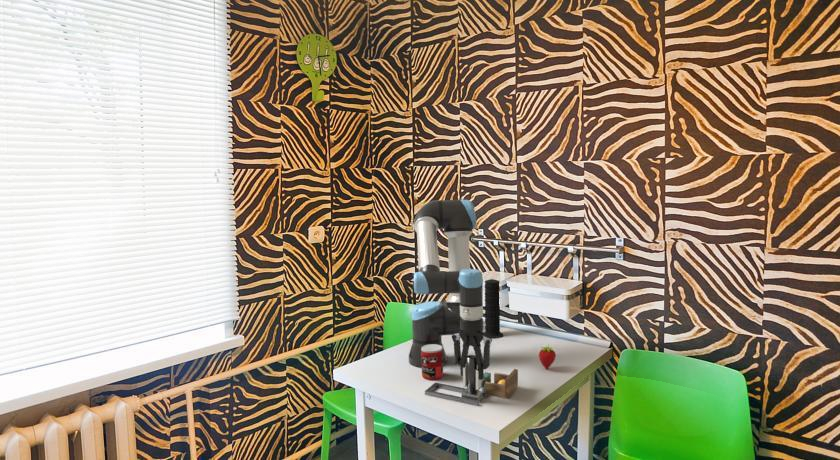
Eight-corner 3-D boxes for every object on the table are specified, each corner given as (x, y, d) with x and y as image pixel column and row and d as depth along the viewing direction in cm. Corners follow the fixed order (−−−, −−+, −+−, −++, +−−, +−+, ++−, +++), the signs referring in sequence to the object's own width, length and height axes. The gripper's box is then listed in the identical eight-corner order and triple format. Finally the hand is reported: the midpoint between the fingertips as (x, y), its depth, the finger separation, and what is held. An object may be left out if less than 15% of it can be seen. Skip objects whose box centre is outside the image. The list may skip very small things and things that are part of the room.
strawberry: (558, 367, 186) (558, 342, 185) (550, 374, 180) (550, 347, 179) (544, 364, 190) (544, 339, 189) (535, 370, 184) (535, 344, 183)
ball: (503, 396, 164) (493, 388, 166) (507, 391, 168) (497, 384, 169) (509, 386, 163) (498, 379, 165) (512, 382, 167) (502, 375, 168)
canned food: (417, 376, 180) (416, 347, 179) (432, 370, 186) (432, 342, 185) (432, 382, 175) (431, 352, 174) (447, 375, 181) (446, 347, 180)
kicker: (461, 398, 161) (460, 357, 159) (477, 382, 173) (477, 344, 172) (478, 402, 158) (478, 360, 156) (493, 385, 170) (493, 346, 169)
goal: (485, 394, 164) (484, 375, 164) (495, 383, 173) (495, 365, 172) (508, 399, 160) (508, 380, 160) (517, 387, 169) (517, 369, 168)
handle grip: (480, 338, 223) (503, 339, 221) (480, 281, 220) (502, 281, 219) (482, 331, 233) (503, 332, 231) (481, 276, 230) (503, 277, 228)
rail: (424, 394, 165) (424, 391, 165) (435, 385, 172) (435, 382, 172) (477, 405, 156) (477, 402, 156) (486, 396, 163) (486, 392, 163)
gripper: (442, 317, 159) (444, 386, 161) (491, 323, 151) (492, 396, 153) (452, 311, 166) (453, 378, 168) (500, 317, 158) (500, 387, 160)
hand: (472, 386), depth 161 cm, fingers open, 4 cm apart
